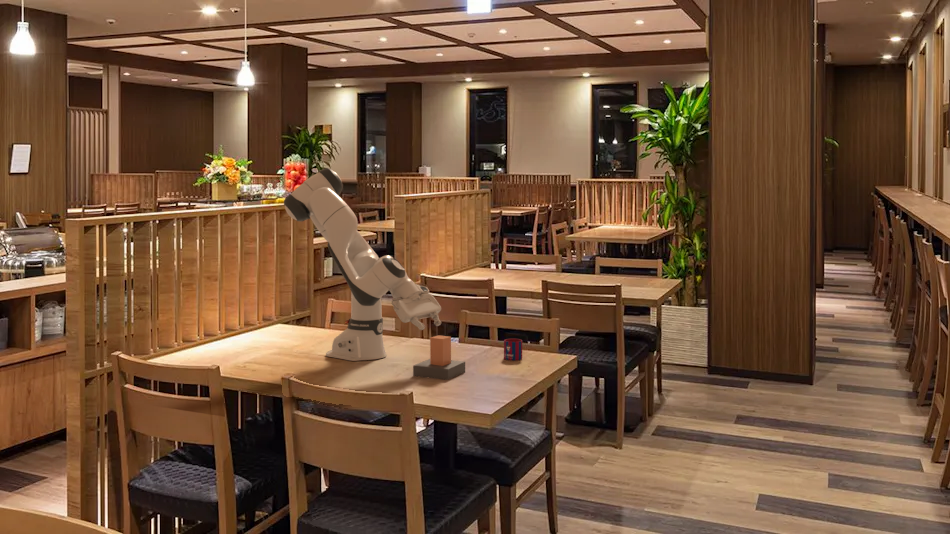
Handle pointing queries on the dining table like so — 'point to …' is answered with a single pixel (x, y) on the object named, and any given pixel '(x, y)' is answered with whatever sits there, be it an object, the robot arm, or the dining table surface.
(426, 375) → the grey flat block
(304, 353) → the dining table surface
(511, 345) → the mug
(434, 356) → the terracotta column
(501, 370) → the dining table surface
